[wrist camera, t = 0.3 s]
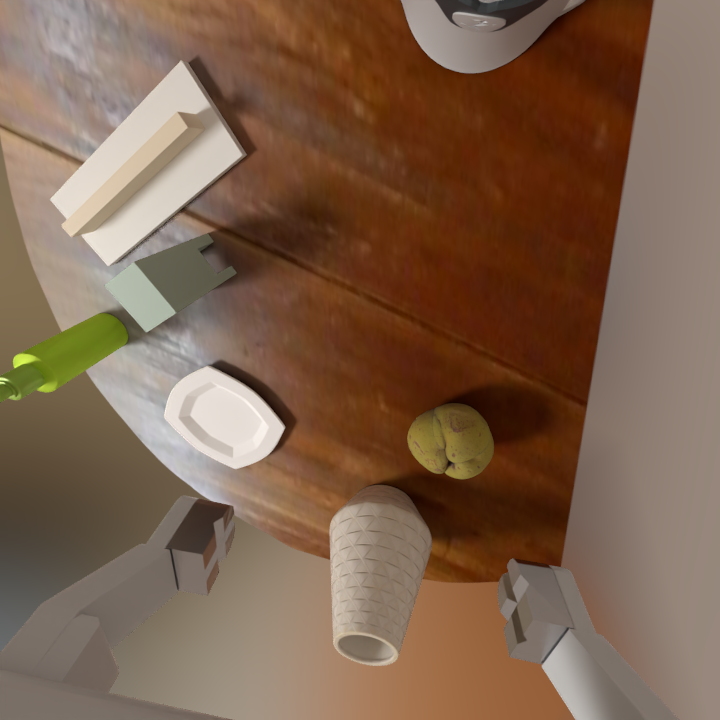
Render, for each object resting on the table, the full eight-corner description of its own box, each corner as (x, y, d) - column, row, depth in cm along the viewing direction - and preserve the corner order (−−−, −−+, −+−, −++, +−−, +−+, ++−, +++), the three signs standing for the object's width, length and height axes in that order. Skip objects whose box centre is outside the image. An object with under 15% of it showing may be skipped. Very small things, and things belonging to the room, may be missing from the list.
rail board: (187, 62, 39) (160, 52, 35) (247, 155, 42) (228, 155, 38) (57, 198, 49) (24, 202, 45) (114, 264, 52) (88, 273, 48)
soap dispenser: (113, 304, 56) (-27, 373, 39) (134, 344, 59) (14, 425, 42) (82, 309, 57) (-66, 378, 40) (104, 348, 60) (-23, 427, 43)
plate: (242, 471, 71) (238, 479, 69) (157, 409, 66) (149, 415, 64) (303, 421, 62) (300, 429, 60) (209, 345, 57) (203, 351, 55)
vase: (345, 460, 64) (308, 599, 45) (443, 485, 63) (450, 637, 44) (332, 522, 73) (296, 659, 54) (418, 544, 72) (413, 692, 53)
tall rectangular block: (207, 233, 48) (133, 261, 36) (237, 273, 50) (176, 312, 38) (182, 252, 50) (104, 285, 38) (211, 289, 52) (146, 332, 40)
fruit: (438, 373, 53) (440, 416, 44) (505, 412, 54) (520, 461, 45) (397, 422, 58) (391, 469, 50) (459, 456, 60) (464, 508, 51)
